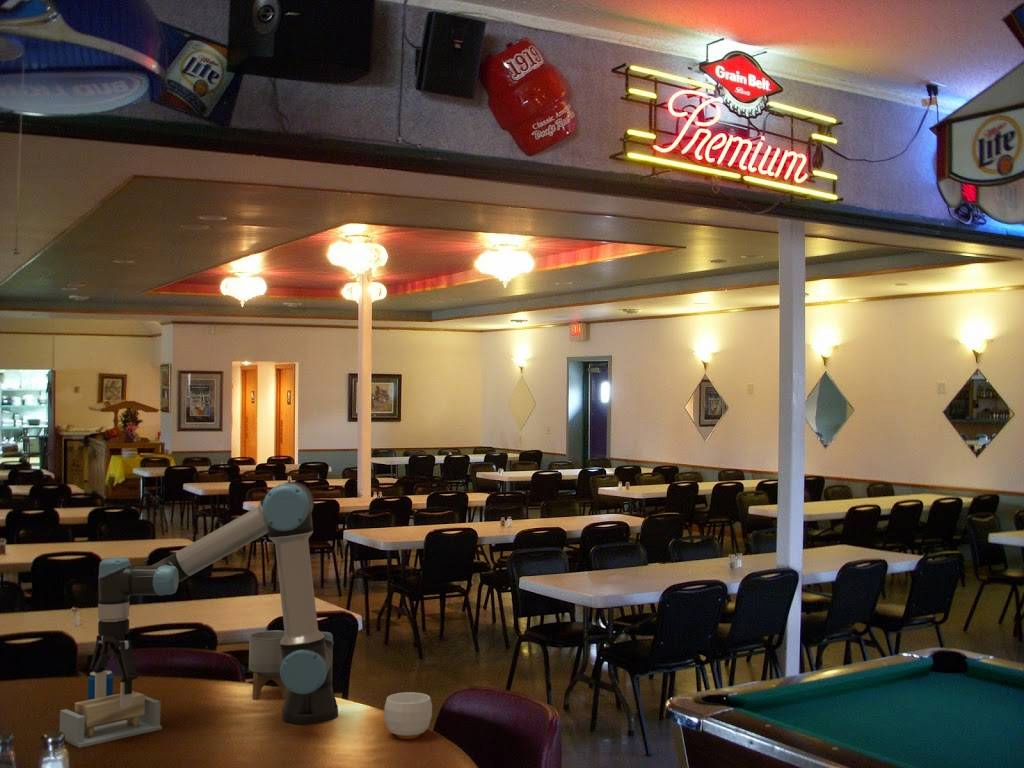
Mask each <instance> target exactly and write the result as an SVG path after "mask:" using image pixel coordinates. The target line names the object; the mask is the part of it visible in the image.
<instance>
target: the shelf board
mask: <svg viewBox="0 0 1024 768" xmlns="http://www.w3.org/2000/svg"><path fill="white" fill-rule="evenodd" d="M145 696H146V694H144V693H140V692H137V691H133V690H132V706H129V707H124V708H120V693H117V694H113V695H111V696H106V697H101V698H96V699H92V700H83V701H77V702H74V713H77V714H79V715H82V716H84V717H85V724H84V727H91V726H94V727H95V726H100V725H105V724H109V723H113V722H118V721H122V720H126V719H127V718H130V717H134V716H138V715H143V714H145Z"/></svg>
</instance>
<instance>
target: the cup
mask: <svg viewBox="0 0 1024 768" xmlns="http://www.w3.org/2000/svg"><path fill="white" fill-rule="evenodd" d="M383 709H384V713H383V714H384V715H383V718H384V721H385V722H384V723H385V724H386V727H387V729H388V730H389V732H391V733H392V734H395V735H396V737H397V738H399V739H404V740H407V739H410V740H411V739H415V738H418V737H419V736H420V735H421V734H423V733H425V732H426V730H428V728H429V727H430V725H431V724H430V723H431V720H432V716H433V715H432V714H433V704H432V699H431V696H430V695H428V694H426V693H422V692H413V691H411V692H398V693H393V694H390V695H388V696H387V698H386V701H385V705H384V708H383Z"/></svg>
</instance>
